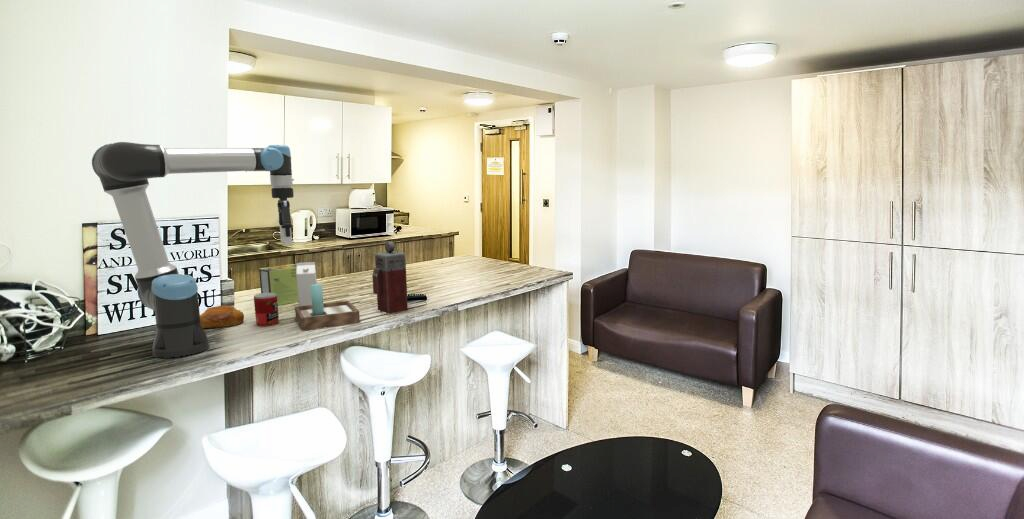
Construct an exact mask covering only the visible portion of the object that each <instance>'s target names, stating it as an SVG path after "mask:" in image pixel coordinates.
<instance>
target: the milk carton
mask: <svg viewBox="0 0 1024 519" xmlns="http://www.w3.org/2000/svg"><path fill="white" fill-rule="evenodd" d="M295 265H297V272H296V274H297V288H298V301H299V302H298V306H306V305H312V298H311V285H313V284H318V279H317V269H316V262H315V261H310V262H308V261H307V262H297V263H296V264H295Z"/></svg>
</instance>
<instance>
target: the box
mask: <svg viewBox="0 0 1024 519" xmlns="http://www.w3.org/2000/svg"><path fill="white" fill-rule="evenodd" d="M323 306H324V315H318V316H313V312H312V305H306V306H299V305H297V306H294V313H295V314H294V315H295V316H294V317H295V320H296V321H298V322H297V323H298V325H299V327H300V329H301V331H302V330H304V331H310V330H309V329H312V330H317V329H316V328H319V329H325V328H324V327H326V328H332V327H338V326H339V327H340V326H346V325H354V324H360V323H361V320H360V318H361V316H360V310H359V309H358V308H356V306H354V305H353V304H352V302H350V301H349V300H342V301H341V300H340V301H334V302H323Z"/></svg>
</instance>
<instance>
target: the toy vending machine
mask: <svg viewBox="0 0 1024 519" xmlns="http://www.w3.org/2000/svg"><path fill="white" fill-rule="evenodd" d="M395 248H396V247H395V242H394V241H385V243H384V250H385V252H376V253H375V254H374V260H375V261H374V262H375V267H374V268H373V271H372V292H373V294H374V295H376V300H377V304H376V305H377V310H378V311H379V310H380V312H382V311H383V312H382V313H385V312H386V313H385V314H388V313H390V314H394V313H393V312H395V313H398V311H400V312H404V311H403V310H405V311H408V310H409V306H408V286H407V285H408V284H407V283H408V282H407V263H406V262H407V261H406V253H405V252H400V251H395Z"/></svg>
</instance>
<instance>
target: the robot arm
mask: <svg viewBox="0 0 1024 519" xmlns="http://www.w3.org/2000/svg"><path fill="white" fill-rule="evenodd" d="M91 167H92V169H93V172H94V173H95V174H96V175H97V176H98V178H99V182H101V186H102V188H103V192H104V193H106V194H107V195H110V196H112V199H113V203H114V204H115V208H116V210H117V214H118V216H119V218H120V222H121V225H122V227H123V230H124V234H125V237H126V239H127V241H128V244H129V247H130V251H131V253H132V255H133V256H132V257H133V259H134V261H135V262H134V263H135V265H136V267H137V272H136V273H135V274H134V278H135V279H134V280H135V282H136V285H137V297H138V298H139V301H140V302H141V304H142V305H144V306H145V307H146V308H148V309H150V310H153V312H154V315H155V316H154V317H155V324H156V333H155V335H154V339H153V343H152V347H151V351H152V356H153V355H154V356H157V357H156V358H158V357H168V358H167V359H173V358H172V357H175V358H181V357H180V356H183V357H187V356H186V355H188V356H191V355H190V354H192V355H195V353H196V354H199V353H202V352H204V351H206V350H208V349H209V348H210V340H209V338H208V336H207V334H206V331H205V328H203V327H202V325H201V322H200V315H201V314H200V304H199V294H198V290H199V288H198V284H197V281H196V280H197V279H196V278H194V277H193V276H192V275H189V274H182V273H181V274H179V269H178V268H177V265H174V264H173V263H170V261H169V258H168V255H167V252H166V249H165V245H164V243H163V240H162V237H161V234H160V230H159V228H158V225H157V221H156V219H155V215H154V213H153V209H152V206H151V204H150V200H149V197H148V195H147V191H146V190H147V189H148V187H149V186H150V183H149V179H156V178H165V177H166V176H167V175H169V174H173V175H175V174H197V173H198V174H201V173H226V172H246V173H247V172H269V178H270V180H269V181H270V187H272V188H271V189H270V190H271V198H273V199H277V212H278V224H279V235H280V243H284V245H283V246H285V247H288V246H293V233H292V226H293V224H292V221H291V220H292V219H291V209H290V207H291V206H290V205H291V204H290V201H289V200H288V199H292V198H294V188H293V186H294V185H293V182H294V181H295V178H293V172H292V154H291V149H290V147H289V146H288V145H285V144H270V145H268V146H267V147H222V148H221V147H163V146H162V145H161V144H149V143H148V144H147V143H138V142H137V143H136V142H131V141H130V142H128V141H118V142H114V143H108V144H104V145H102V146H100V147H99V148H98V149H97V150H96V151H95V152H94V153H93V155H92V158H91ZM198 352H199V353H198ZM154 356H153V357H154ZM170 357H171V358H170Z"/></svg>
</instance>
